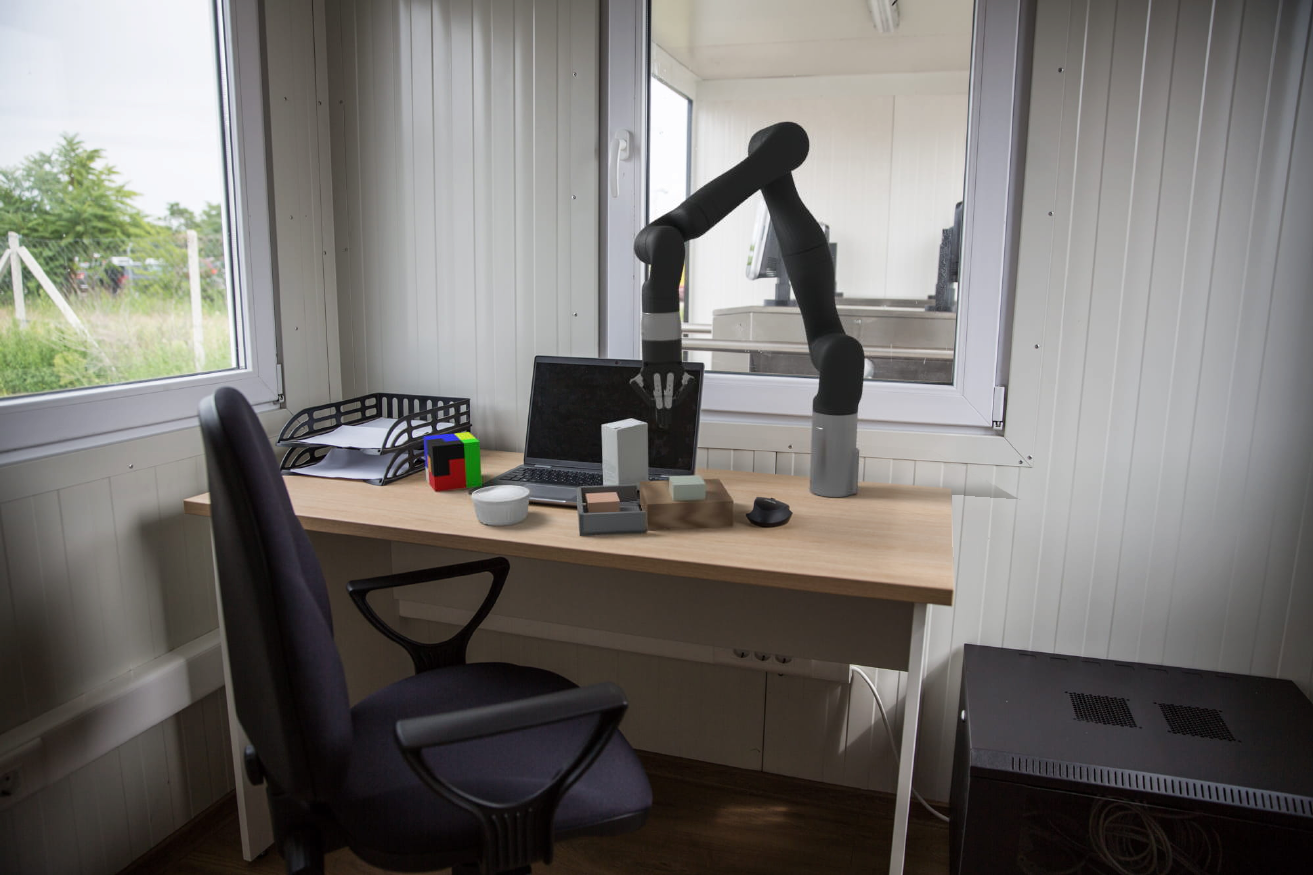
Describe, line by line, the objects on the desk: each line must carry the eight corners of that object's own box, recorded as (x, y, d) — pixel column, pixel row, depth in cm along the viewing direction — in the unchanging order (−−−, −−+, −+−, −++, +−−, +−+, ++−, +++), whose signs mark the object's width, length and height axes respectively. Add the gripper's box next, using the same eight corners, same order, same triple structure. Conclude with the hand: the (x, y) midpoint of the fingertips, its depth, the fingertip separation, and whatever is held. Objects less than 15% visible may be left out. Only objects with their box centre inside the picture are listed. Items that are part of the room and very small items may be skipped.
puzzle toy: (426, 480, 194) (423, 436, 192) (471, 475, 198) (468, 432, 196) (435, 492, 185) (432, 446, 183) (481, 486, 189) (479, 441, 187)
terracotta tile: (585, 493, 171) (585, 508, 172) (588, 502, 165) (588, 517, 166) (616, 492, 172) (616, 506, 172) (619, 501, 166) (620, 516, 167)
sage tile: (700, 490, 168) (700, 475, 167) (705, 499, 162) (705, 484, 161) (669, 491, 167) (669, 476, 166) (673, 500, 161) (673, 485, 161)
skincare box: (632, 484, 190) (631, 417, 186) (650, 490, 185) (649, 422, 182) (601, 491, 185) (599, 422, 181) (618, 498, 180) (617, 427, 177)
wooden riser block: (718, 502, 177) (718, 478, 176) (733, 526, 162) (733, 500, 161) (639, 505, 175) (639, 481, 174) (647, 530, 161) (647, 504, 159)
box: (636, 503, 176) (636, 484, 176) (645, 533, 159) (645, 512, 158) (577, 505, 175) (576, 486, 174) (579, 535, 158) (579, 514, 157)
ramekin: (497, 506, 175) (496, 481, 174) (543, 514, 170) (542, 488, 169) (460, 522, 166) (458, 496, 164) (507, 531, 160) (506, 504, 159)
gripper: (693, 332, 167) (695, 421, 171) (624, 335, 165) (627, 424, 170) (699, 337, 159) (701, 429, 164) (627, 340, 158) (630, 433, 162)
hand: (663, 426), depth 167 cm, fingers closed
